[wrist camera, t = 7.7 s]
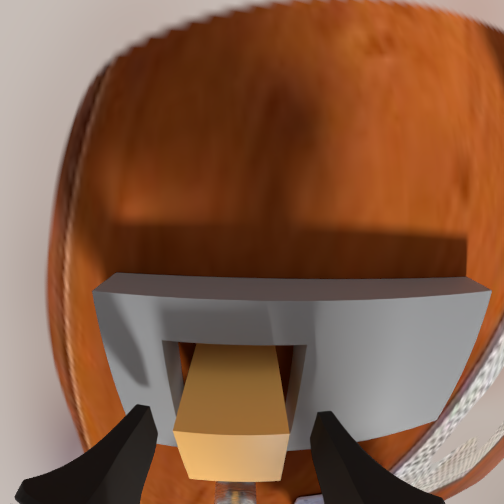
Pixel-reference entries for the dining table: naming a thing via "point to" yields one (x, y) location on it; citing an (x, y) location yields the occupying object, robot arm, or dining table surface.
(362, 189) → the dining table surface
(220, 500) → the bobbin post
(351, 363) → the board
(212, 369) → the tab block
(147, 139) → the dining table surface
